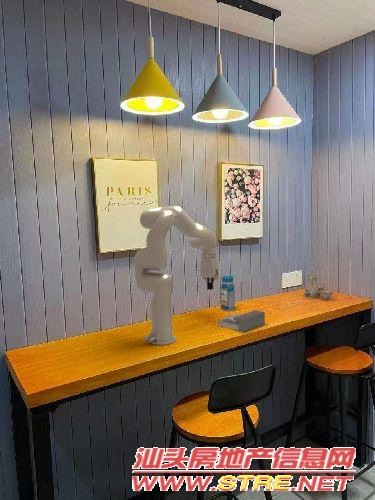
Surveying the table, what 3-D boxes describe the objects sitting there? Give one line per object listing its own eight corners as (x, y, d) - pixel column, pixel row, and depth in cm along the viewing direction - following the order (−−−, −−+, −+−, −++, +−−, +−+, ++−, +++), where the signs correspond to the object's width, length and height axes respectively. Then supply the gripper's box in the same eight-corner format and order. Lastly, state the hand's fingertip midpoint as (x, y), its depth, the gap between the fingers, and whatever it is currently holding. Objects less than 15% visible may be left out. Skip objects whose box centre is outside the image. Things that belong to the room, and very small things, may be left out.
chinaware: (336, 303, 234) (339, 277, 233) (310, 302, 234) (313, 276, 233) (320, 294, 262) (322, 271, 261) (297, 292, 262) (299, 269, 260)
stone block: (220, 328, 193) (237, 327, 188) (218, 319, 193) (235, 317, 188) (230, 323, 203) (246, 322, 198) (228, 314, 203) (245, 313, 198)
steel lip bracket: (243, 332, 179) (243, 319, 178) (216, 325, 192) (215, 313, 191) (264, 324, 191) (264, 312, 191) (237, 318, 204) (237, 306, 203)
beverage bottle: (234, 311, 218) (233, 277, 216) (220, 311, 220) (219, 277, 218) (235, 307, 226) (235, 275, 224) (221, 307, 228) (221, 275, 226)
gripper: (194, 256, 206) (195, 288, 208) (214, 258, 195) (215, 292, 197) (203, 254, 211) (204, 286, 213) (224, 256, 200) (225, 289, 202)
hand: (210, 289), depth 205 cm, fingers closed
